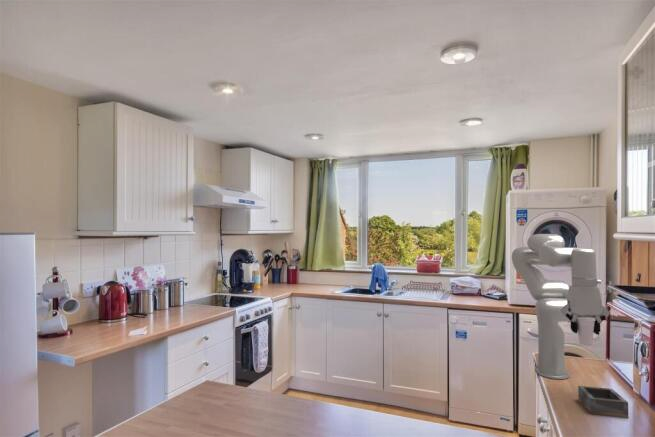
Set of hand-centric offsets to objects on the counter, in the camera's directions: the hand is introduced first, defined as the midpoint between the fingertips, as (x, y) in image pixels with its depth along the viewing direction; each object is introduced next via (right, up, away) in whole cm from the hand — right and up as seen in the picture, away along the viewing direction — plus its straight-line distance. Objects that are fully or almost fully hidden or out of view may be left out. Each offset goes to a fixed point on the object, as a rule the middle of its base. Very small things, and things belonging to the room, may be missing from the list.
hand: (585, 332), depth 136 cm
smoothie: (0, -4, 0) cm, 4 cm away
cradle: (+1, -24, -7) cm, 25 cm away
